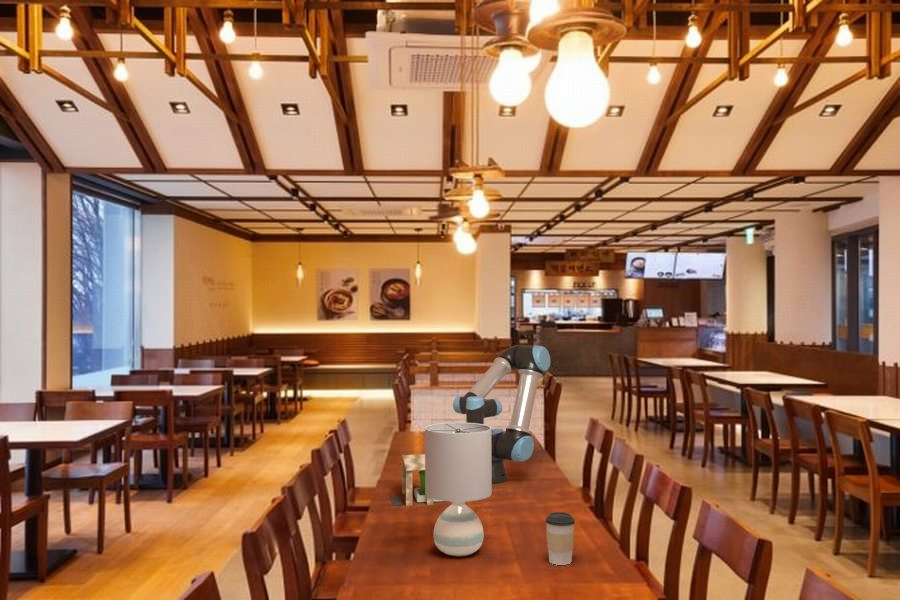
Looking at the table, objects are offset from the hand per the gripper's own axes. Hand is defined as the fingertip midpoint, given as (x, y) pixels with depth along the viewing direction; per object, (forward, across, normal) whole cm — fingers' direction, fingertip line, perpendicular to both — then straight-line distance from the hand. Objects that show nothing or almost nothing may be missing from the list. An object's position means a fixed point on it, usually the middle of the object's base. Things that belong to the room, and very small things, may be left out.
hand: (475, 489), depth 308 cm
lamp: (+3, +17, +69) cm, 71 cm away
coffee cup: (+3, -13, +83) cm, 84 cm away
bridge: (+3, +24, 0) cm, 25 cm away
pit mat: (+3, +33, +2) cm, 34 cm away
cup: (+3, +20, 0) cm, 20 cm away
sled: (+3, +10, 0) cm, 10 cm away
